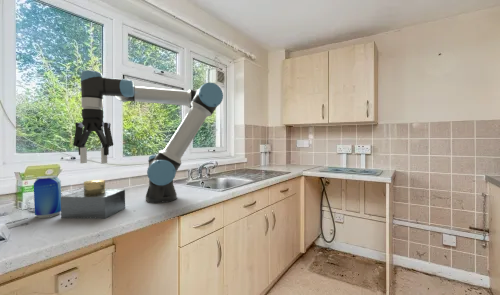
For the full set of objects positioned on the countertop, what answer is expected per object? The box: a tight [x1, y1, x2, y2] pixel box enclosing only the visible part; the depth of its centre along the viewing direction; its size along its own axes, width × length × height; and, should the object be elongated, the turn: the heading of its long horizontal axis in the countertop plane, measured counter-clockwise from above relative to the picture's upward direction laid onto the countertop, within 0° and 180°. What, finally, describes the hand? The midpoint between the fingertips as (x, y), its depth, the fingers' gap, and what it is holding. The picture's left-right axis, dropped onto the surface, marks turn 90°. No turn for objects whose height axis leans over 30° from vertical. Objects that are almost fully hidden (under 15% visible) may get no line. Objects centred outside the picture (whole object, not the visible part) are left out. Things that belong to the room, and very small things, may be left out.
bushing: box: [83, 179, 106, 195], centre depth 101 cm, size 8×8×13 cm
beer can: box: [33, 175, 62, 219], centre depth 97 cm, size 8×8×16 cm
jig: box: [60, 188, 126, 220], centre depth 101 cm, size 18×14×8 cm
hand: (94, 163), depth 100 cm, fingers open, 8 cm apart
